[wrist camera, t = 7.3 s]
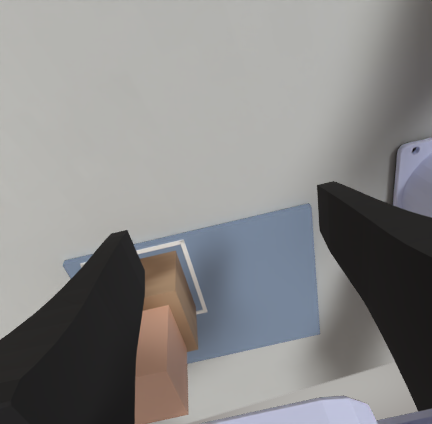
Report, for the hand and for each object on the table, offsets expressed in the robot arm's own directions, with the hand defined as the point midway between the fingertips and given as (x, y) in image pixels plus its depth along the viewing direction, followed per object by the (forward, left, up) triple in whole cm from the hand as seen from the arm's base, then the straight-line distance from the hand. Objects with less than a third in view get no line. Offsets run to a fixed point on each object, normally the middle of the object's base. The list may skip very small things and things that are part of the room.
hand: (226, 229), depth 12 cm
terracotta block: (+7, +10, -5) cm, 13 cm away
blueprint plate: (+3, +13, -9) cm, 16 cm away
